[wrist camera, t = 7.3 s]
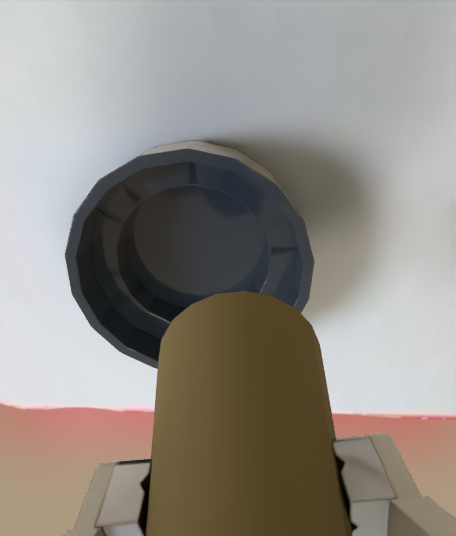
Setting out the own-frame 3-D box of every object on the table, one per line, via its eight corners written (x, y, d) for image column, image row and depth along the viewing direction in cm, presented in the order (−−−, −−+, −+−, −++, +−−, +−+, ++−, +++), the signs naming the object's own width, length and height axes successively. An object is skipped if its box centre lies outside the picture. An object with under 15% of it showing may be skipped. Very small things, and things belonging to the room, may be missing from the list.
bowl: (66, 160, 25) (25, 173, 20) (290, 124, 24) (307, 129, 19) (125, 339, 31) (106, 384, 26) (304, 317, 30) (319, 359, 25)
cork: (188, 433, 15) (103, 1127, 5) (133, 314, 12) (-279, 1226, 2) (332, 404, 14) (591, 1143, 4) (304, 272, 12) (784, 1296, 2)
